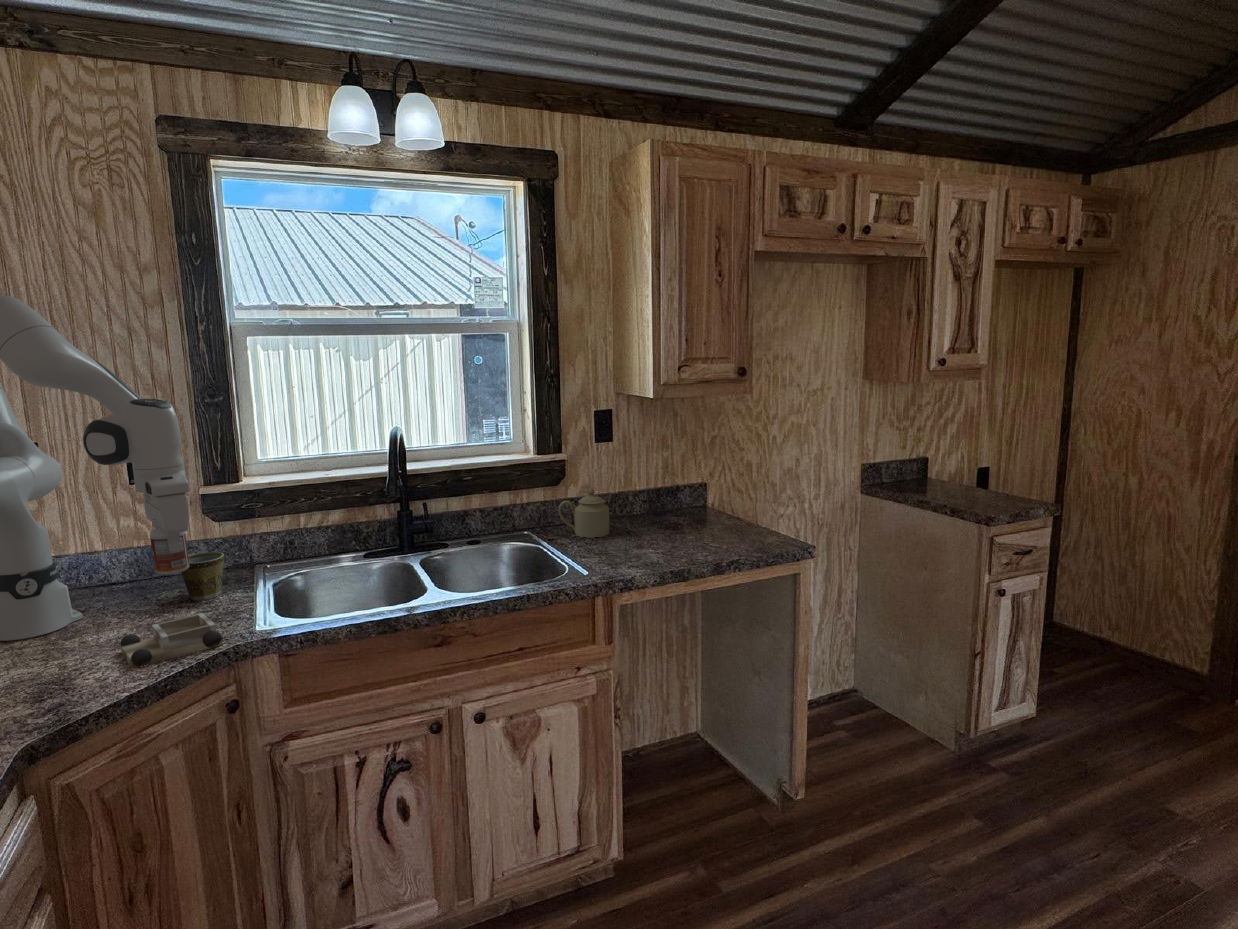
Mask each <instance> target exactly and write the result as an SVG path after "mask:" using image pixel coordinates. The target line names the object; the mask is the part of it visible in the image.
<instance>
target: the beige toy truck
mask: <svg viewBox="0 0 1238 929" xmlns="http://www.w3.org/2000/svg"><path fill="white" fill-rule="evenodd" d="M216 626H217V625H216V623H214V622H213V621H212V620H211V619H210V618H209V617H208V616H207V615H206V614H205V613H204V612H200V613H196V614H193V615H188V616H184V617H179V618H175V619H172V620H166V621H164V622H163V621H162V622H159V623H155V624H151V630H152V637H150V638H147V639H143V640H141V638H140V637H139V636H138V635H137V634H134V633H130V634H127V635H125V636H124V637H122V638H121V641H120V650H121V654H122V655H123V657H124V659H125V660H126V661H127V662H128V664H129V666H130V665H131V666H130V667H131V668H132V669H133V668H135V669H138V668H142V667H145V666H144V665H146V666H148V665H147V664H150V665H153V664H156V663H155V662H157V663H159V662H158V661H161V662H165V661H168V660H172V659H175V658H180V657H183V656H187V655H189V654H190V655H191V654H194V653H198V652H201V651H205V650H209V649H212V648H216V647H221V646H223V639H222V634H221V633H220V632H218V631H217V628H216ZM141 666H142V667H141ZM137 667H138V668H137Z"/></svg>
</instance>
